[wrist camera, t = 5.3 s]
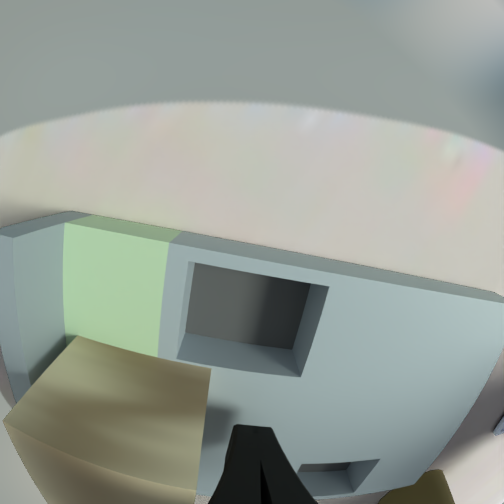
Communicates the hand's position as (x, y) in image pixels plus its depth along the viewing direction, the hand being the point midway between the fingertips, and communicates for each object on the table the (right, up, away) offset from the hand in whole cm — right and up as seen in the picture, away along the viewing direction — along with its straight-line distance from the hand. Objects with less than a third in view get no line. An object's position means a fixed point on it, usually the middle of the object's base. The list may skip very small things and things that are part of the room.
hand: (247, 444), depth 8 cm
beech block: (-4, +1, +1) cm, 4 cm away
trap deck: (+2, 0, +3) cm, 4 cm away
